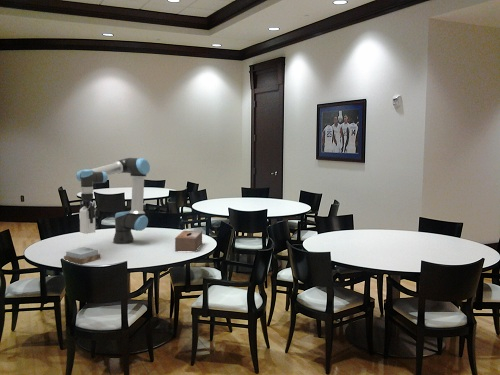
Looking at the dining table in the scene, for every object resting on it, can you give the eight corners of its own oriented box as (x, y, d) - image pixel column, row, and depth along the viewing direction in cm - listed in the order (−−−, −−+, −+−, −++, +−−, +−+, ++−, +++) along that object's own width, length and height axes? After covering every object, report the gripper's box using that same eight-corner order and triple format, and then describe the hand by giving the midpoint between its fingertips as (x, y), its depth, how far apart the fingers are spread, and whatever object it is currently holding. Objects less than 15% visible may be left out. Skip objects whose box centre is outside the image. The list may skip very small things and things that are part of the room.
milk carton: (89, 231, 310) (89, 203, 308) (95, 232, 306) (95, 204, 304) (79, 232, 305) (79, 204, 303) (85, 234, 300) (85, 205, 298)
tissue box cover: (195, 252, 326) (195, 238, 325) (175, 251, 327) (175, 237, 326) (202, 243, 351) (202, 231, 350) (183, 243, 353) (183, 230, 352)
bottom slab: (83, 255, 314) (83, 250, 313) (100, 258, 306) (100, 254, 305) (64, 260, 300) (63, 256, 299) (80, 264, 292) (80, 259, 292)
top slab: (83, 251, 312) (83, 247, 312) (98, 254, 305) (97, 249, 305) (66, 256, 300) (66, 251, 299) (80, 259, 293) (80, 254, 293)
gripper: (73, 192, 306) (74, 226, 308) (90, 194, 293) (90, 230, 296) (84, 191, 312) (84, 224, 314) (100, 193, 299) (101, 228, 302)
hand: (87, 227), depth 305 cm, fingers closed on milk carton, 7 cm apart
